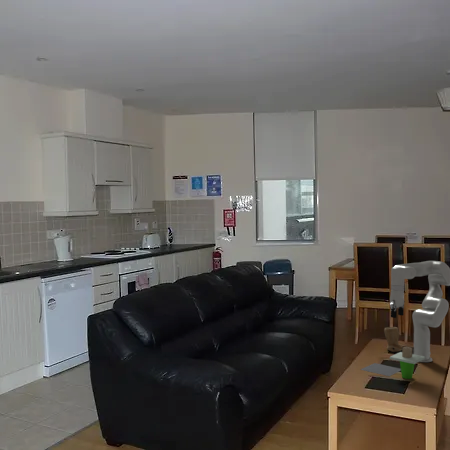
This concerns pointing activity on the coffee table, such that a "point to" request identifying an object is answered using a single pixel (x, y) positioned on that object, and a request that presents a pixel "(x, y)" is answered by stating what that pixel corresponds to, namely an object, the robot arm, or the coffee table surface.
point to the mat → (381, 369)
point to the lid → (407, 356)
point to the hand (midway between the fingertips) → (397, 316)
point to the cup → (406, 369)
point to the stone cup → (392, 339)
